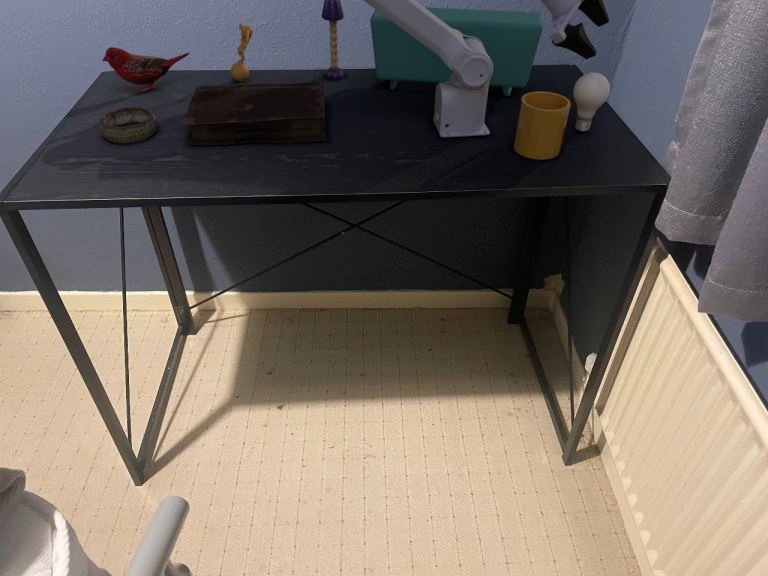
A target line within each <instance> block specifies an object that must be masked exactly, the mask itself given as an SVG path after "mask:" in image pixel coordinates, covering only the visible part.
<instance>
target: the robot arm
mask: <svg viewBox="0 0 768 576" xmlns="http://www.w3.org/2000/svg"><path fill="white" fill-rule="evenodd" d="M539 1H540V2H541V3H542V4H543V6H544V7H545V8H546V9H547V10H548V11H549V12H550V13H551V22H550V23H551V25H550V32H549V35H548V37H549V38H550V39H551V43H552V45H553V46H554V47H558V48H562V49H566V50H569V51H571V52H573V53H575V54H577V55H578V56H580V57H582V58H583V59H585V60H589V59H591V58H594V57H596V56H597V53H598V52H597V49H596V48H595V46H594V44H593V43H592V41H591V40H590V39H589V37H588V35H587V33H586V29H585V27H584V22H580V23H577V24H576V25H574V24H570V22H571V21H572V19H573V16H574V15H575V13H576V12H577V10H579V11H581V12H582V13H583V14H584V15H585V16H586V17H587V18H588V19H589V20H590V21H591V23H593V24H594V25H595V26H597V27H598V28H600V27H602V26H605V25H606V24H608V23H610V17H609V14H608V12H607V9H606V7H605V3H604V0H539ZM363 2H365V4H367V5H369V7H372V8H373V9H374V10H375V9H376V10H377V11H378V12H380V13H381V14H383V15H384V16H385V17H387V18H388V19H389V20H391V21H392V22H393V23H395V24H396V25H397V26H399V27H400V28H402V29H403V30H404V31H406V32H407V33H408V34H410V35H411V36H412V37H414V38H415V39H416V40H418V41H419V42H421V43H422V44H423V45H425V46H426V47H427V48H429V49H430V50H431V51H433V52H434V53H435V54H437V55H438V56H439V57H440V58H441V59H442V60H443V62H444V63H445V64H446V65H447V66H448V67H449V68H450V69H451V70H453V73H452V74H451V76H450V80H448V81H446V82H442V83H436V88H435V96H434V108H433V109H434V112H433V118H432V122H433V123H434V126H435V128H436V130H437V132H438V134H439V137H440V138H457V137H459V138H460V137H473V136H474V137H478V136H489V135H490V134H491V132H490V130H489V128H488V127H487V125H486V123H485V118H486V110H487V104H488V103H487V102H488V94H489V87H490V86H489V80H490V79H491V77H492V74H493V63H492V60H491V59H490V57H489V56H488V55H487V53H486V51H485V48H484V45H483V43H482V42H481V41H480V40H479V39H478V38H476V37H473V36H467V35H464V34H462V33H461V32H460V31H458V30H456V29H453V28H451V27H449V26H448V25H447V24H446V23H444V22H443V21H442V20H440V19H439V18H438V17H437V16H435V15H434V14H433V13H431V12H430V11H429V10H427V9H426V8H425V6H424V5H422V4H421V3H420V2H419V1H417V0H363Z"/></svg>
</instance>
